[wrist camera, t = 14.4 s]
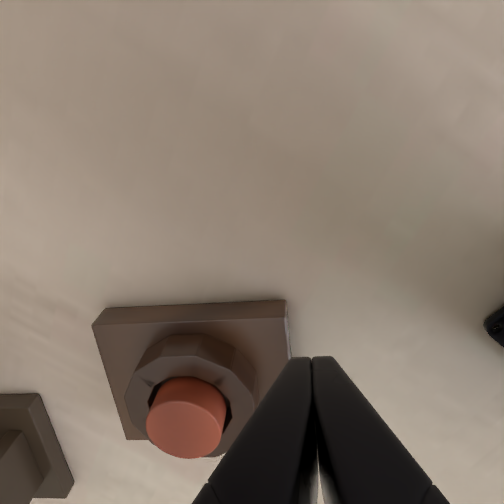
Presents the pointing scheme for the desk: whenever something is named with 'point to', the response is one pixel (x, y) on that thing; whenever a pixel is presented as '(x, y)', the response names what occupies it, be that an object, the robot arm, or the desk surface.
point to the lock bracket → (29, 452)
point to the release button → (187, 417)
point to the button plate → (193, 356)
